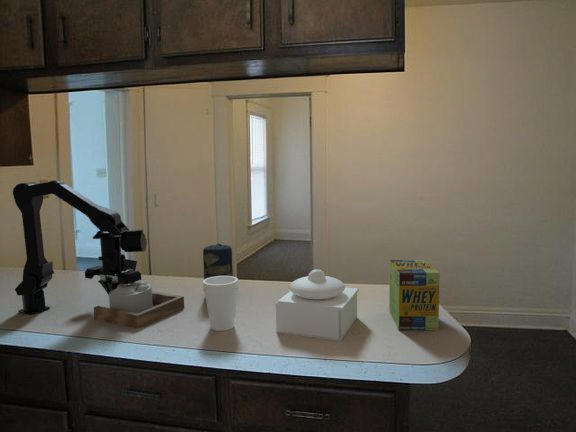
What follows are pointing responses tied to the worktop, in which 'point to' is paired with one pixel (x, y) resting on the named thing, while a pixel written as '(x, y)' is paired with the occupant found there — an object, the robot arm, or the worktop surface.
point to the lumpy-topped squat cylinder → (131, 297)
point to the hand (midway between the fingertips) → (114, 301)
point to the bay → (137, 320)
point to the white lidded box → (317, 307)
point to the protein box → (414, 294)
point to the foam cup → (221, 301)
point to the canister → (217, 261)
